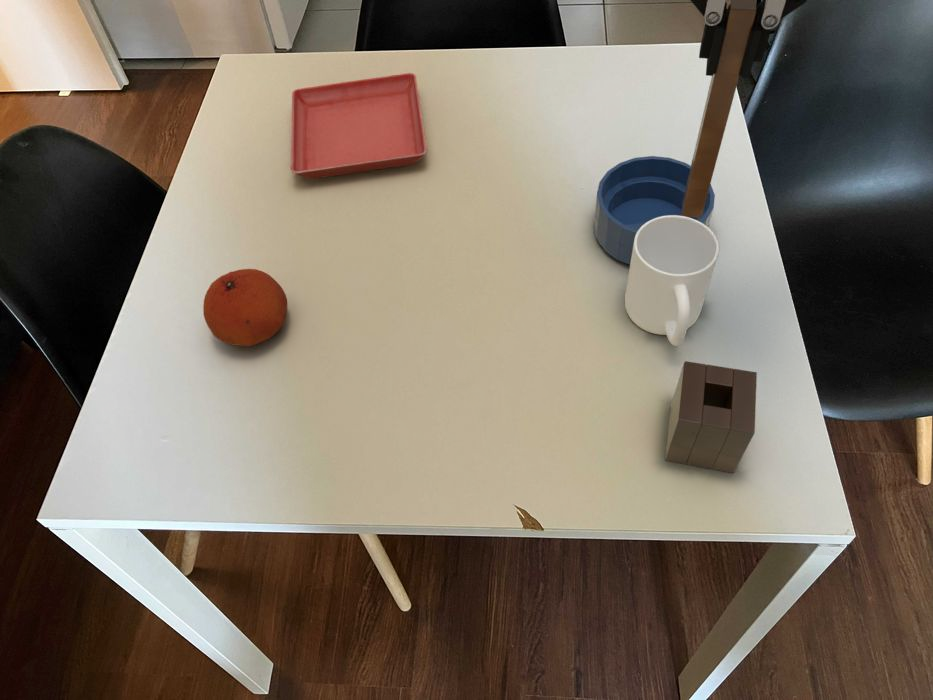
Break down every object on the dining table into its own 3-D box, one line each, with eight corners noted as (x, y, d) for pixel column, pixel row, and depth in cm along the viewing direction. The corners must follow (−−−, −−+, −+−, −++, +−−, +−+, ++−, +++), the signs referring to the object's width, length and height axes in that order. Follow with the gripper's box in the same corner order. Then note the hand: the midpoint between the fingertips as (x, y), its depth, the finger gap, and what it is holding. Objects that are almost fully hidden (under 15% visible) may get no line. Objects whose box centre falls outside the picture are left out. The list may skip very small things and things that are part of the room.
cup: (692, 277, 82) (710, 212, 74) (713, 364, 75) (735, 304, 67) (619, 280, 83) (629, 217, 74) (633, 367, 76) (645, 308, 68)
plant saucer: (430, 172, 96) (427, 152, 93) (296, 191, 96) (289, 172, 93) (418, 91, 106) (415, 71, 104) (297, 108, 106) (291, 89, 104)
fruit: (218, 366, 80) (190, 323, 74) (218, 306, 85) (192, 260, 79) (296, 350, 81) (275, 306, 74) (292, 291, 86) (272, 245, 79)
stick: (701, 204, 68) (756, -4, 51) (701, 218, 67) (757, 10, 50) (682, 202, 68) (730, -5, 52) (681, 216, 67) (730, 9, 51)
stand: (736, 415, 72) (756, 372, 65) (733, 473, 68) (754, 433, 62) (670, 404, 73) (684, 360, 66) (664, 460, 70) (678, 419, 63)
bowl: (707, 200, 89) (717, 162, 84) (700, 279, 82) (710, 242, 77) (602, 188, 92) (606, 151, 87) (586, 263, 85) (589, 227, 80)
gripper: (651, -202, 40) (618, 88, 55) (966, -202, 37) (839, 105, 52) (662, -250, 44) (628, 32, 59) (947, -253, 41) (834, 45, 56)
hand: (727, 64), depth 55 cm, fingers closed on stick, 1 cm apart
